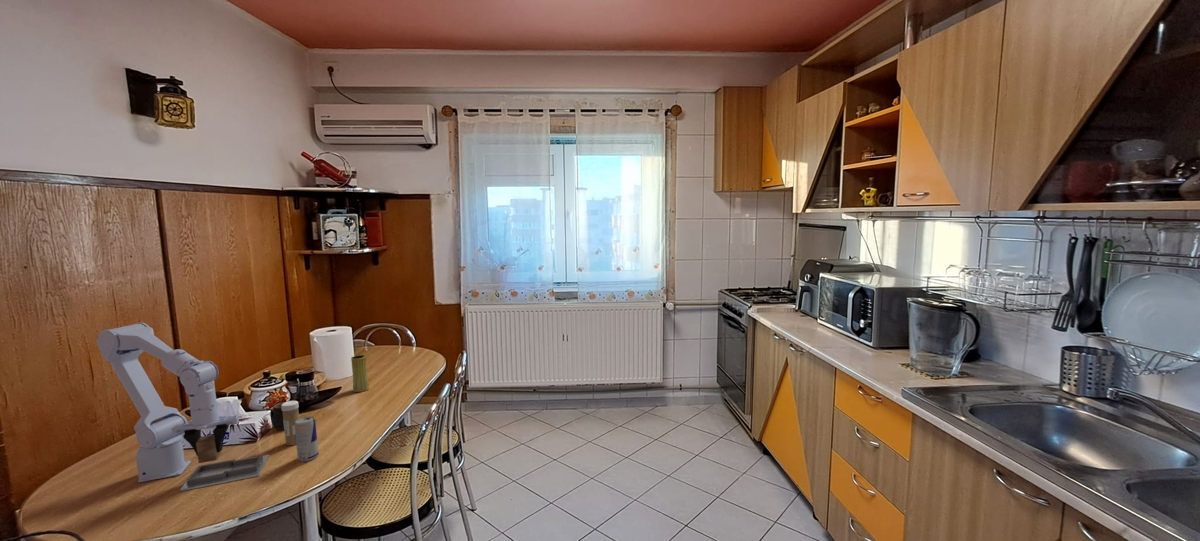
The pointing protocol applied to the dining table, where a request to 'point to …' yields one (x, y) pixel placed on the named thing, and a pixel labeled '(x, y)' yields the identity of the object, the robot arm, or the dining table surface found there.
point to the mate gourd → (278, 416)
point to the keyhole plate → (225, 472)
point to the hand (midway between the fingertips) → (209, 452)
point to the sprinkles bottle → (290, 420)
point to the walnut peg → (207, 449)
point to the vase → (359, 373)
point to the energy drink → (306, 438)
